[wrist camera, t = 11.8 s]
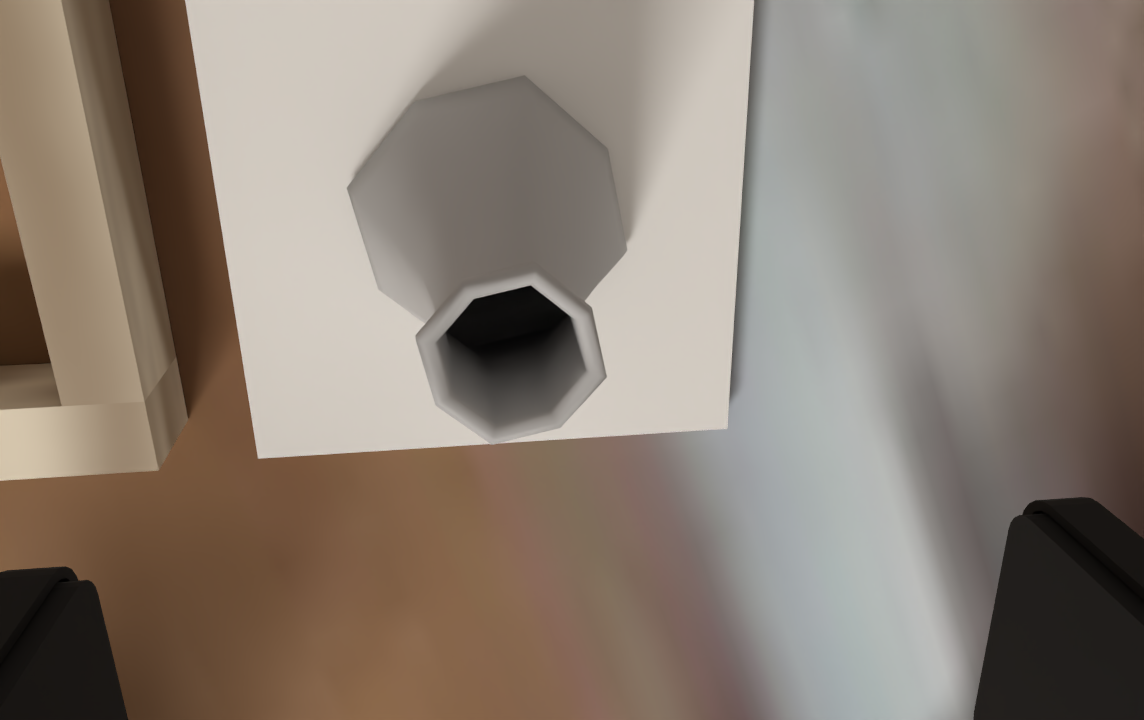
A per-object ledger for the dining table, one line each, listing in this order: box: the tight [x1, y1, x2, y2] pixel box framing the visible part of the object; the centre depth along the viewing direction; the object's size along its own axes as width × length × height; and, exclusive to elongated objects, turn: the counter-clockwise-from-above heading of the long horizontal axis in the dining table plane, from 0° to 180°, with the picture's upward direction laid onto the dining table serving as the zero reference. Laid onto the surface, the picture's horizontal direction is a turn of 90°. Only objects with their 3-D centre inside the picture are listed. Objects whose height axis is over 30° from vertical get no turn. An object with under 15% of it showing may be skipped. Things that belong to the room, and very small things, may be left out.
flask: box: [347, 75, 627, 445], centre depth 21 cm, size 7×7×10 cm
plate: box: [185, 0, 754, 459], centre depth 25 cm, size 14×14×1 cm
